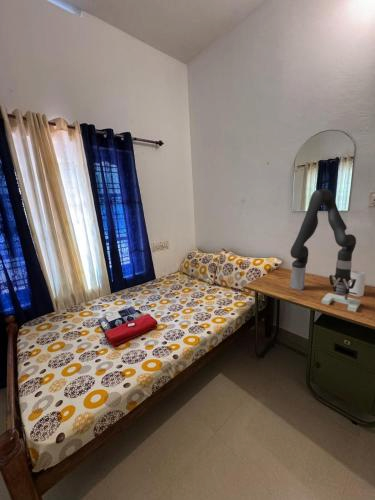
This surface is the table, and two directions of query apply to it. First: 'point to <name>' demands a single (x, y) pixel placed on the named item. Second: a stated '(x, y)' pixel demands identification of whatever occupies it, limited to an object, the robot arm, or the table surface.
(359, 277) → the cup
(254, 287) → the table surface
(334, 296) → the board
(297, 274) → the robot arm
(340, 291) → the grooved grey cylinder
